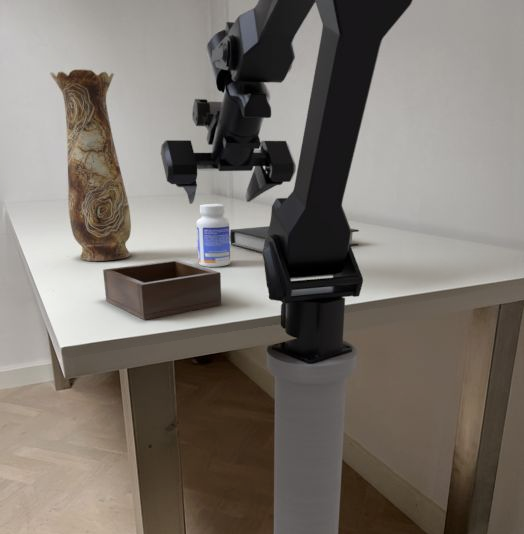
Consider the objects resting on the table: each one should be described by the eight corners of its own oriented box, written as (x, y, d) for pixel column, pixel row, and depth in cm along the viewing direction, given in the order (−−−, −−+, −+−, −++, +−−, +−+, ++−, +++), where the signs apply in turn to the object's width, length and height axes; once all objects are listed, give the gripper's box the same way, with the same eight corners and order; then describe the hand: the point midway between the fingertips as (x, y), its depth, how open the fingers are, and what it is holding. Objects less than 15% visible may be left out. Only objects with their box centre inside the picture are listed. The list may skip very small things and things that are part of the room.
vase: (112, 264, 93) (93, 66, 83) (60, 260, 97) (35, 69, 87) (144, 253, 103) (130, 74, 93) (95, 250, 106) (77, 77, 96)
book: (313, 235, 124) (313, 222, 123) (358, 244, 112) (359, 229, 111) (229, 244, 113) (229, 229, 112) (270, 255, 101) (270, 238, 100)
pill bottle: (237, 264, 94) (236, 204, 90) (213, 268, 90) (211, 207, 86) (215, 259, 97) (213, 202, 94) (191, 264, 93) (188, 205, 90)
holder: (221, 304, 69) (220, 272, 68) (144, 320, 63) (141, 284, 61) (178, 289, 77) (176, 259, 75) (106, 301, 71) (102, 269, 69)
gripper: (289, 80, 79) (262, 160, 92) (158, 74, 73) (150, 161, 86) (311, 138, 74) (279, 213, 88) (174, 138, 68) (162, 218, 82)
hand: (219, 200), depth 86 cm, fingers open, 9 cm apart
